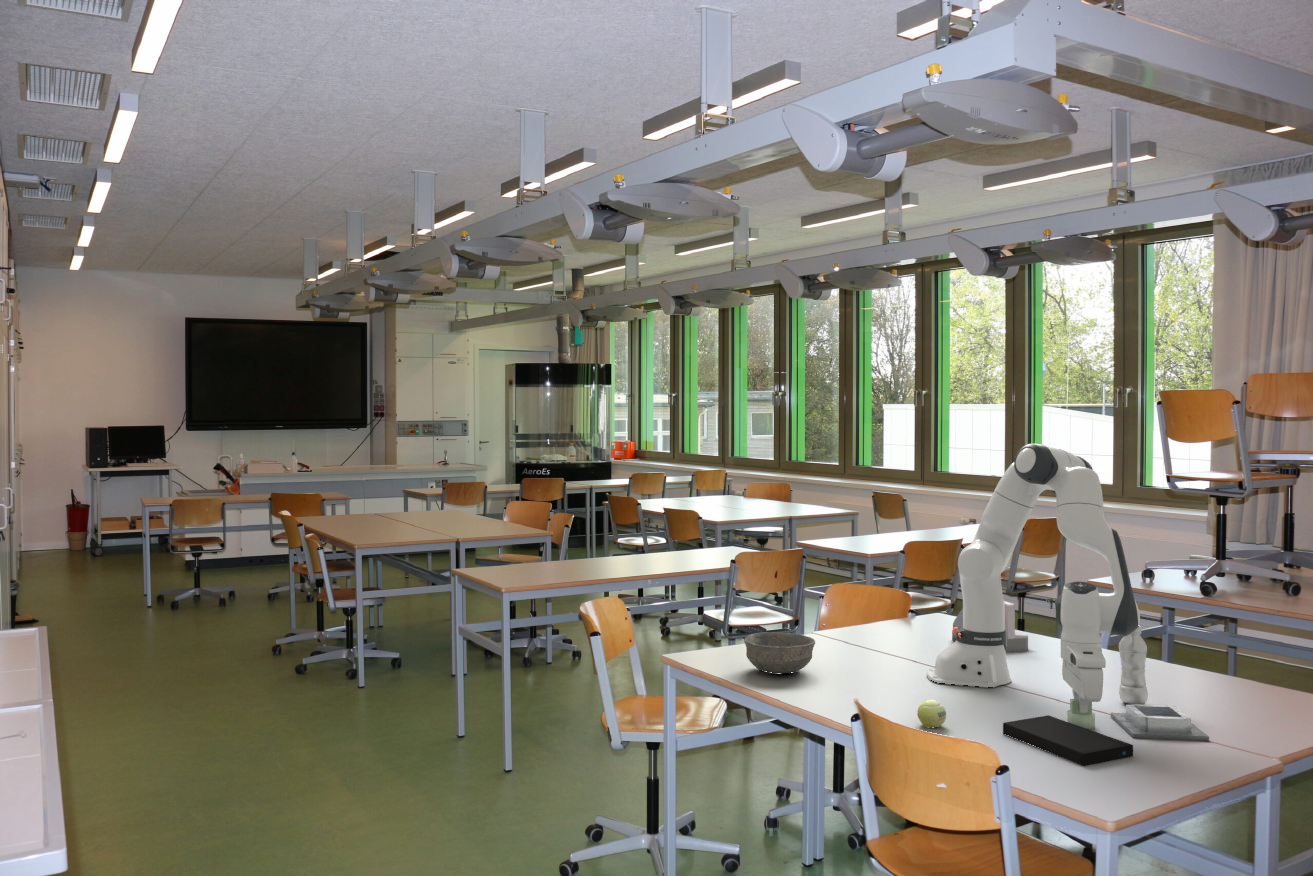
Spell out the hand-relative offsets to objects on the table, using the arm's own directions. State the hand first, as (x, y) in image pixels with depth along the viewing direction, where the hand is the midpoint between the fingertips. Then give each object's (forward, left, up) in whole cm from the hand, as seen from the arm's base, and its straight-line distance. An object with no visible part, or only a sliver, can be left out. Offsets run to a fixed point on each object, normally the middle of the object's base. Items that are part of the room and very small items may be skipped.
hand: (1081, 710), depth 225 cm
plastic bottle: (+18, +20, -4) cm, 27 cm away
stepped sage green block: (0, 0, -4) cm, 4 cm away
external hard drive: (-7, -15, -4) cm, 17 cm away
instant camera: (-6, +85, -4) cm, 85 cm away
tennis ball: (-35, -5, -4) cm, 36 cm away
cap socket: (+17, 0, -4) cm, 17 cm away
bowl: (-72, +40, -4) cm, 82 cm away
